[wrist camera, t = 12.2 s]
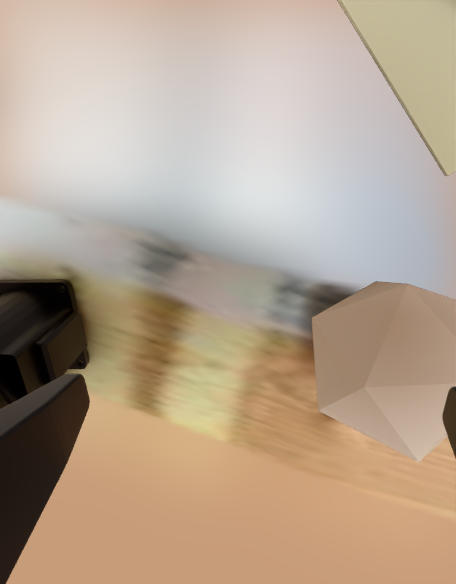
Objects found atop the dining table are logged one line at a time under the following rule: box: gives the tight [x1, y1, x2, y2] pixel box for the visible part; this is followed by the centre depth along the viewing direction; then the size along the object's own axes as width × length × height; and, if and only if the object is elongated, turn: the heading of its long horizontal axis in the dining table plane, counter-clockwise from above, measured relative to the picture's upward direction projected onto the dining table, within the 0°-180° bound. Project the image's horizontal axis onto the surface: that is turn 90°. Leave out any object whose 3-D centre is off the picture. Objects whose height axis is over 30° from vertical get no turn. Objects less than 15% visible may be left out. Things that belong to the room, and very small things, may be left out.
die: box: [311, 282, 456, 462], centre depth 19 cm, size 8×9×10 cm
